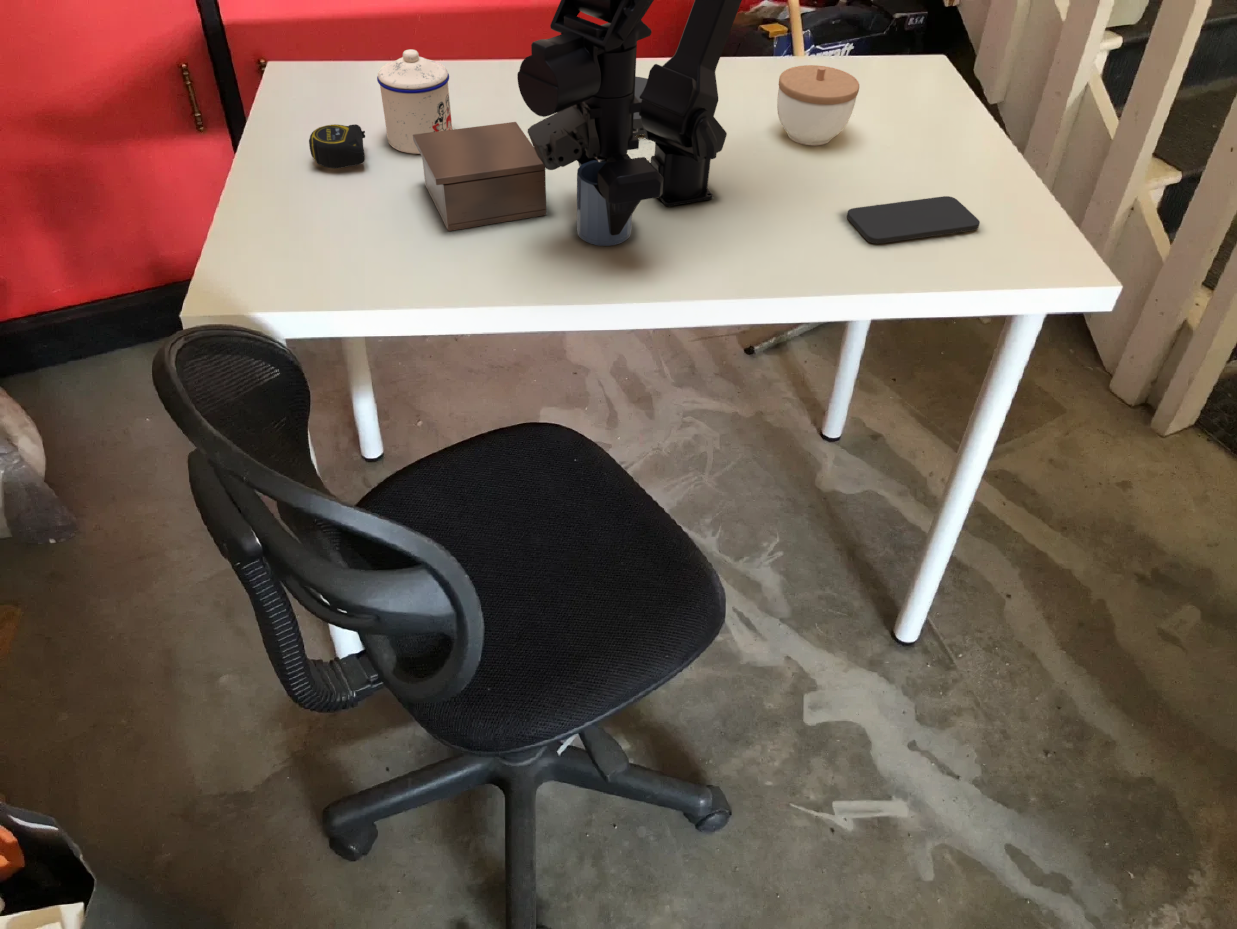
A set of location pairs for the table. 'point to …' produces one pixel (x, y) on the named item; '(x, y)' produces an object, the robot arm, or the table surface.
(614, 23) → the robot arm
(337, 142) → the tape measure
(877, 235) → the phone
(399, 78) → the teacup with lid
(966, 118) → the table surface
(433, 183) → the box
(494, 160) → the box lid
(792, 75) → the trinket box
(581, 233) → the cup
